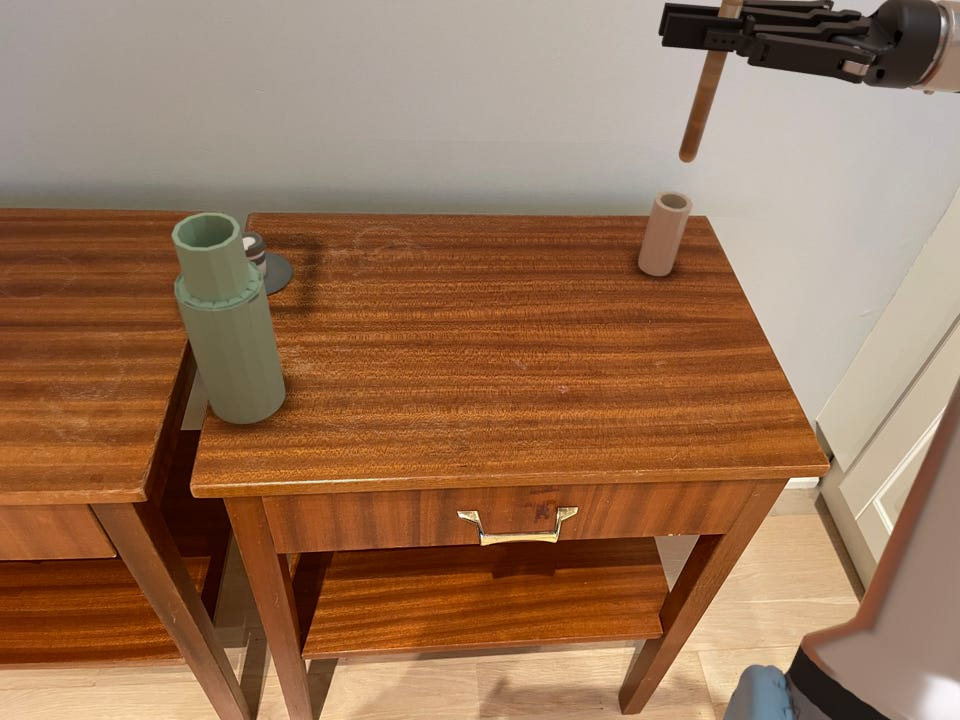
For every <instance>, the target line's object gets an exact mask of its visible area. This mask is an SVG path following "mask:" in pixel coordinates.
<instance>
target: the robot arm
mask: <svg viewBox="0 0 960 720" xmlns="http://www.w3.org/2000/svg"><path fill="white" fill-rule="evenodd" d="M834 5H835V1H834V0H743V5H742V8H741V11H740V15H739V18H726V17H718V14H719V10H720V7H721V6H713V5H711V6H710V5H700V4H688V3H678V2H677V3H674V2H664V6H663V10H662V15H661V19H660V22H659V27H658V31H657V34H658V36H659V37H662V39H661V46H662V47H663V48H674V49H685V50H698V51H708V50H709V51H721V52H728V53H734V52H735V54H736V55H737V56H739V57H741V58H747V61H746V64H748V66H752V67H757V68H765V69H772V70H778V71H785V72H791V73H798V74H804V75H812V76H820V77H827V78H833V79H836V80H840V81H844V82H847V83H851V84H854V85H861V84H862V83H864V84H865V85H866V86H868V87H873V88H884V89H885V88H886V89H897V90H904V89H905V90H906V89H908V88H909V89H911V90H916V91H923V94H924V95H928V96H931V95H933V94H934V93H935V92H940V93H949V94H950V93H952V94H960V1H958V0H957V1H956V0H937V1H933V0H885V1H884V2H882V3H881V4H880V6H879V7H878V8H877V9H876V10H875V11H874V12H873V13H872V14H869V15H868V16H865V15H863V14H862V13H863V12H861V11H859V10H854V9H847V8H846V9H841V10H833V8H834ZM901 507H902V508H901V509H900V512H899V514H898V517H897V519H896V521H895V523H894V526H893V528H892V531H891V532H890V535H889V537H888V539H887V542H886V544H885V546H884V549H883V552H882V553H881V555H880V558H879V560H878V562H877V564H876V567H875V569H874V572H873V574H872V576H871V578H870V581H869V583H868V586H867V587H866V590H865V592H864V595H863V597H862V599H861V601H860V604H859V607H858V609H857V611H856V614H855V615H854V616H853V617H852V618H850V619H849V620H847V621H846V622H842V623H840V624H836V625H832V626H828V627H825V628H820V629H818V630H814V631H810V632H807V633H805V635H803V637H802V639H801V641H800V643H799V646H798V648H797V650H796V652H795V655H794V657H793V659H792V662H791V663H790V666H789V668H788V669H787V670H786V671H785V673H784V672H783V670H781V669H780V668H778V667H777V666H775V665H773V664H768V665H766V666H765V665H763V664H750V665H749V666H747V667H746V668H745V669H744V670H743V671H742V673H741V674H740V677H739V679H738V683H737V685H736V687H735V689H734V690H733V692H732V693H731V696H730V698H729V701H728V703H727V706H726V708H725V709H726V710H725V712H724V714H723V719H722V720H960V375H959V376H958V379H957V381H956V383H955V385H954V387H953V389H952V392H951V394H950V397H949V399H948V402H947V404H946V406H945V408H944V410H943V412H942V415H941V418H940V420H939V422H938V425H937V427H936V429H935V431H934V434H933V436H932V438H931V440H930V443H929V445H928V447H927V449H926V452H925V454H924V457H923V458H922V461H921V463H920V466H919V468H918V471H917V473H916V474H915V477H914V479H913V482H912V484H911V487H910V489H909V491H908V494H907V496H906V498H905V499H904V503H903V505H902V506H901Z"/></svg>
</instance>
